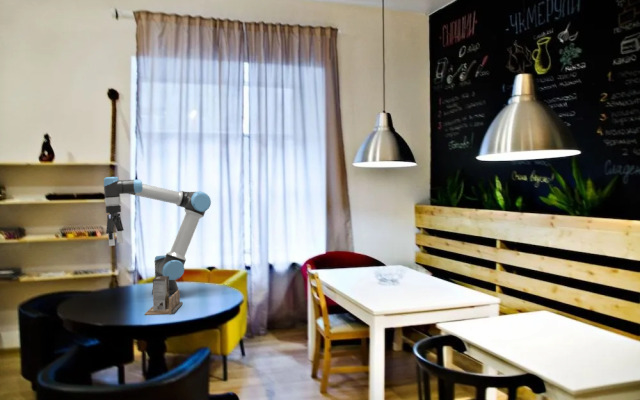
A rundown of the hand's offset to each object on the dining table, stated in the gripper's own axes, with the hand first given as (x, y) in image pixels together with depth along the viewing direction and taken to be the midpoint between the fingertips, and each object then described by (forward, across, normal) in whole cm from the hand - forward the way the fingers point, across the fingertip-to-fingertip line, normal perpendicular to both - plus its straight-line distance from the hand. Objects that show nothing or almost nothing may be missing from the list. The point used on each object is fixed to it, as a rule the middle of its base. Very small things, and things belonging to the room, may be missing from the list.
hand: (116, 244), depth 256 cm
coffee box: (+34, +16, +25) cm, 45 cm away
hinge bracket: (+35, +15, +26) cm, 46 cm away
